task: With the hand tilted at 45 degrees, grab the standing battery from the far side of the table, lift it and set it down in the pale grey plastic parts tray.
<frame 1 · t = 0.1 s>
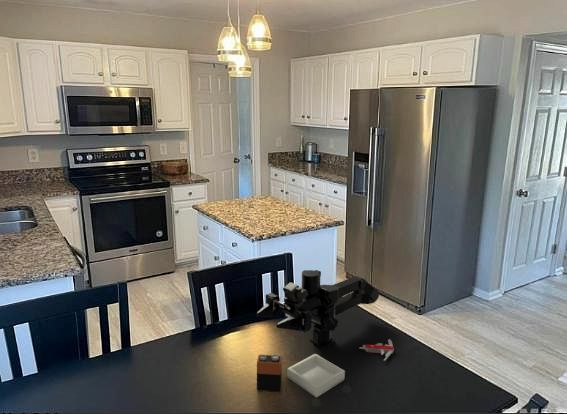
hand: (266, 320, 124), 17 cm above the table, tool horizontal, fingers open, 9 cm apart
parts tray: (315, 378, 124), on the table
battery: (269, 387, 119), on the table
swiss army knife: (376, 352, 138), on the table
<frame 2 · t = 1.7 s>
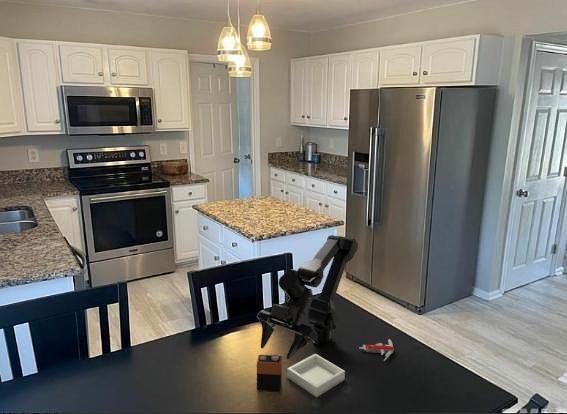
hand: (274, 353, 119), 10 cm above the table, tool tilted 45°, fingers open, 9 cm apart
nothing on the table moved.
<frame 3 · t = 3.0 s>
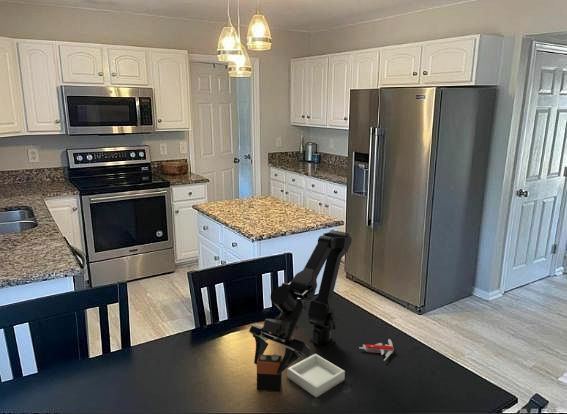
hand: (266, 368, 117), 7 cm above the table, tool tilted 45°, fingers closed on battery, 8 cm apart
battery: (269, 387, 119), on the table, touching gripper
everything else where it was.
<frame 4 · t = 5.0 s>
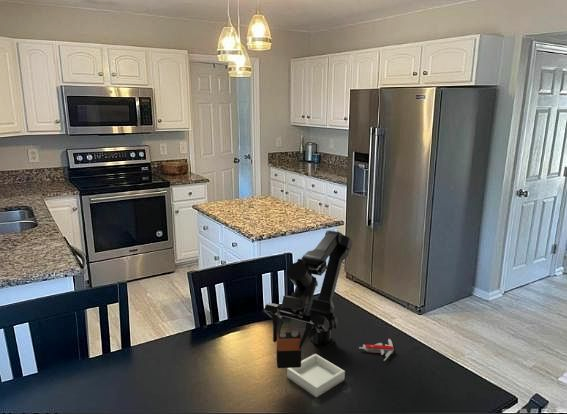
hand: (286, 345, 116), 13 cm above the table, tool tilted 45°, fingers closed on battery, 8 cm apart
battery: (288, 364, 119), point 7 cm above the table, touching gripper
everything else where it was.
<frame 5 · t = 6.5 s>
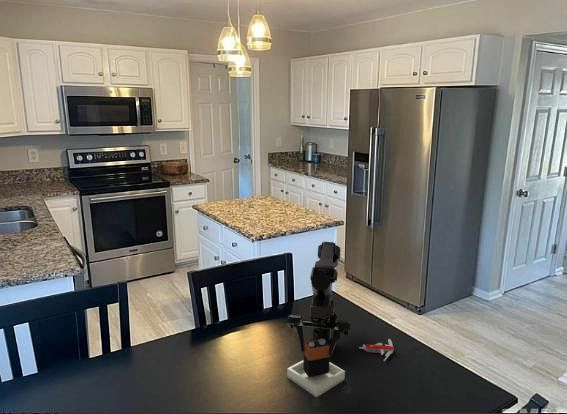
hand: (316, 354, 120), 9 cm above the table, tool tilted 45°, fingers closed on battery, 8 cm apart
battery: (316, 372, 123), point 2 cm above the table, touching gripper
everything else where it was.
when the fingers open (9 cm above the table, at t = 7.3 s): battery drops 1 cm, resting on parts tray.
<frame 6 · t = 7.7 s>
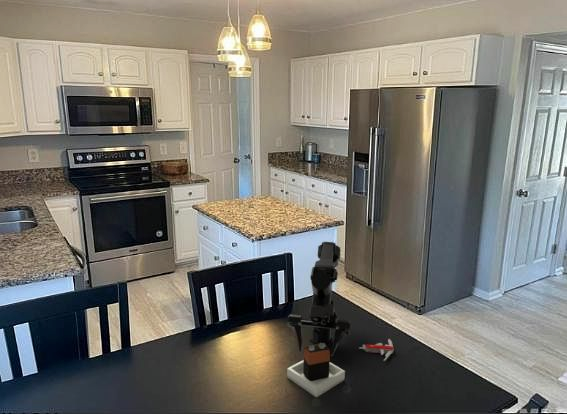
hand: (316, 353, 120), 9 cm above the table, tool tilted 45°, fingers open, 9 cm apart
battery: (315, 376, 124), point 1 cm above the table, touching parts tray
everything else where it was.
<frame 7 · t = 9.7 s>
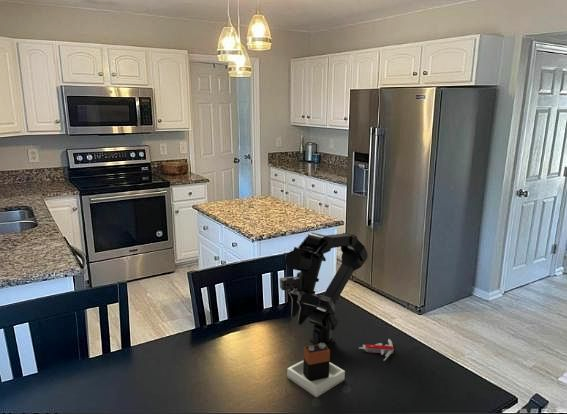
hand: (296, 320, 131), 13 cm above the table, tool tilted 20°, fingers open, 9 cm apart
nothing on the table moved.
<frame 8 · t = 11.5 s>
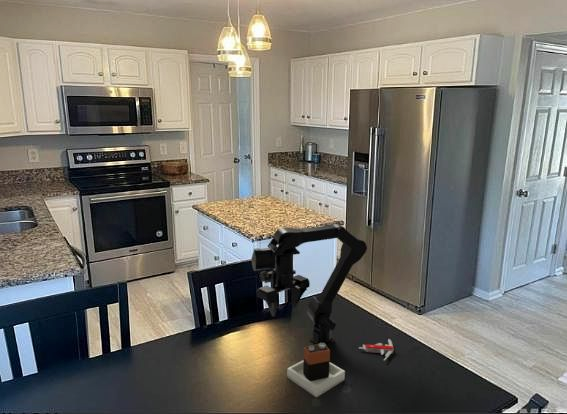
hand: (283, 311, 137), 13 cm above the table, tool pointing down, fingers open, 9 cm apart
nothing on the table moved.
at the end: battery inside the target area on the parts tray (0.1 cm from its centre), point 0.6 cm above the parts tray's base; the gripper is holding nothing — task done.
